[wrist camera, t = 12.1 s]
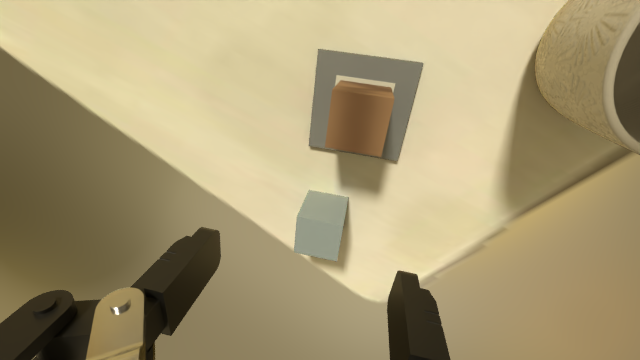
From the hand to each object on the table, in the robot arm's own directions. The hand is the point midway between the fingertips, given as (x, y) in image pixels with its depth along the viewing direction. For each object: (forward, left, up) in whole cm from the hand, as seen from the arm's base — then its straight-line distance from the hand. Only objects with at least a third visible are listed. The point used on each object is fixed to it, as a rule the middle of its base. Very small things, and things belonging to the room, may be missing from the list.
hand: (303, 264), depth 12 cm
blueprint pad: (-1, -3, -21) cm, 21 cm away
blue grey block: (+1, +11, -21) cm, 23 cm away
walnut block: (-1, -3, -20) cm, 20 cm away
